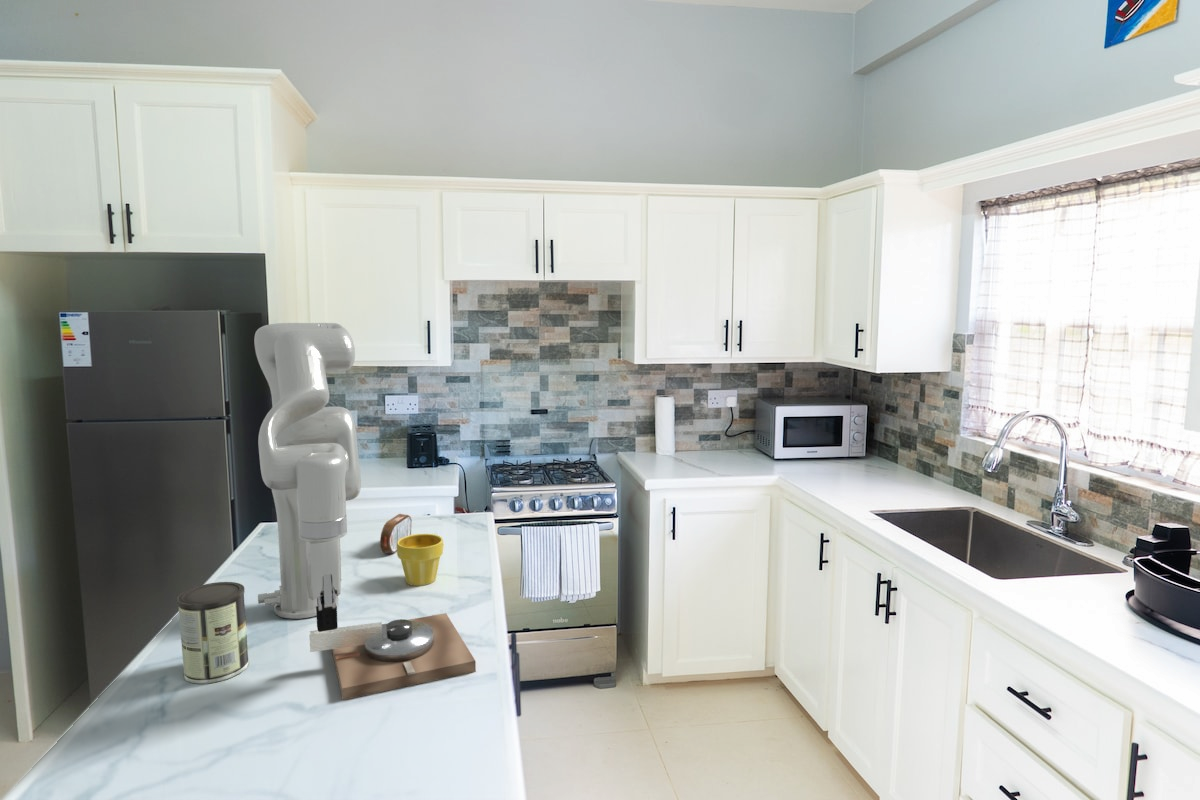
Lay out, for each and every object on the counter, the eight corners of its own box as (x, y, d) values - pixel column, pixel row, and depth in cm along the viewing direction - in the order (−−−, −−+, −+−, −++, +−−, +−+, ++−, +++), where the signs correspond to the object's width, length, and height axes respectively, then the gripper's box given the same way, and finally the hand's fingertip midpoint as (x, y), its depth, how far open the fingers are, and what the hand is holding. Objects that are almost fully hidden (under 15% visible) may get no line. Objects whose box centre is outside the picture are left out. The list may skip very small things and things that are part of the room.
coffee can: (217, 651, 133) (212, 578, 132) (262, 660, 130) (257, 585, 128) (168, 678, 124) (162, 599, 122) (214, 688, 120) (209, 607, 119)
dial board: (342, 700, 117) (342, 686, 117) (330, 643, 137) (329, 631, 136) (475, 671, 126) (475, 659, 126) (446, 622, 146) (445, 611, 146)
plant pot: (426, 592, 162) (425, 549, 161) (388, 585, 166) (387, 544, 164) (452, 576, 171) (451, 536, 170) (416, 570, 175) (414, 531, 174)
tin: (403, 539, 199) (402, 509, 198) (414, 539, 199) (413, 510, 198) (379, 557, 184) (378, 525, 183) (391, 558, 184) (390, 526, 183)
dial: (430, 627, 139) (429, 604, 138) (436, 655, 127) (436, 631, 127) (312, 643, 132) (311, 619, 132) (308, 674, 121) (307, 648, 120)
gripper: (296, 515, 127) (301, 614, 130) (301, 544, 114) (306, 653, 116) (341, 511, 130) (345, 607, 133) (351, 538, 117) (355, 644, 120)
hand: (327, 628), depth 125 cm, fingers closed
